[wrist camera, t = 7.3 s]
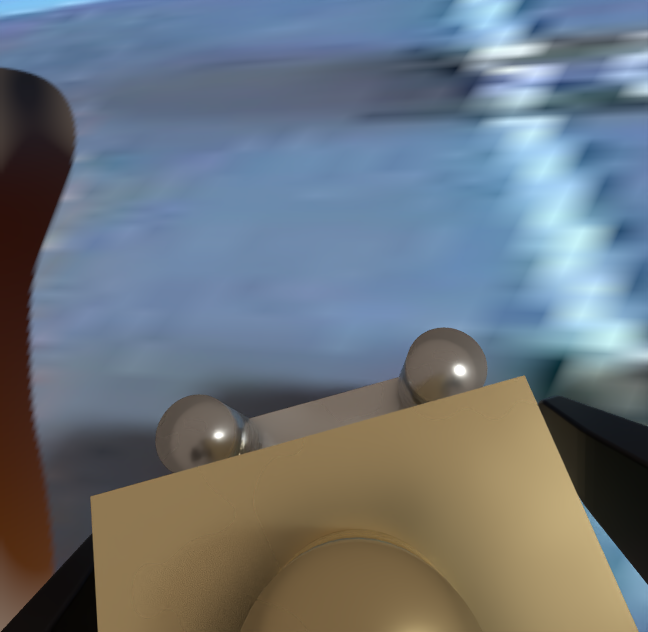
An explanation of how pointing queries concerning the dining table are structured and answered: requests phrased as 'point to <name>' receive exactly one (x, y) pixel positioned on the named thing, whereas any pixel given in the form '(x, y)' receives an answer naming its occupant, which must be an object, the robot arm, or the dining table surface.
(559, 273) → the dining table surface
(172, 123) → the dining table surface
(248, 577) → the loose leaf
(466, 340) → the fixed leaf
